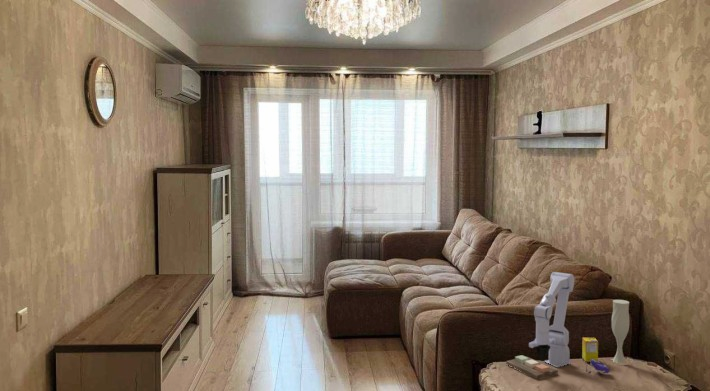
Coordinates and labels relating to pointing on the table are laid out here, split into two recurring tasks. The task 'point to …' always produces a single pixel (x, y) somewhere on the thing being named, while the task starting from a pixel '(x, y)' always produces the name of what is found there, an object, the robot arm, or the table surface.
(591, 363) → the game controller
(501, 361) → the table surface
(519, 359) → the sage button
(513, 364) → the button panel
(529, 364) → the cream button
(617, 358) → the vase
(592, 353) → the supplement box
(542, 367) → the terracotta button
